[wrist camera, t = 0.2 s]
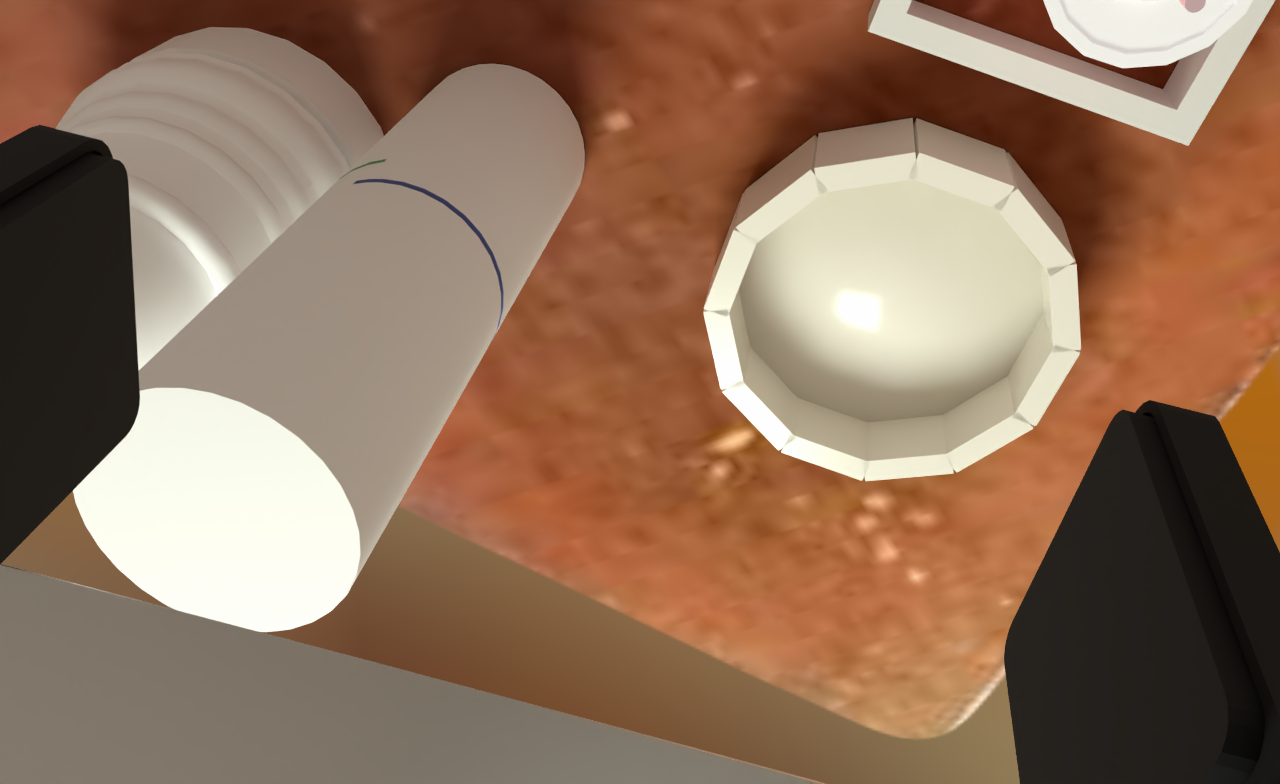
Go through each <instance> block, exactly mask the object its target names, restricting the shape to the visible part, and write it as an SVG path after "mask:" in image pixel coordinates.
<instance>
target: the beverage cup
mask: <svg viewBox="0 0 1280 784" xmlns="http://www.w3.org/2000/svg"><path fill="white" fill-rule="evenodd" d="M1043 1H1044V4H1045V6H1046V9H1047V11H1048V14H1049V16H1050V19H1051V21H1052V24H1053V26H1054V29H1055V30H1057V31H1058V32H1059V33H1060V34H1061V35H1062V36H1063V37H1064V38H1065V39H1066V40H1067V41H1068V42H1069V43H1071V44H1072V45H1073V46H1074V47H1075V48H1076V49H1077V50H1078V51H1079V52H1080V53H1081V54H1082V55H1083V56H1086V57H1089V58H1093V59H1096V60H1099V61H1102V62H1105V63H1108V64H1111V65H1114V66H1117V67H1120V68H1134V67H1148V66H1162V65H1168V64H1170V63H1173V62H1175V61H1177V60H1179V59H1182V58H1184V57H1186V56H1188V55H1191V54H1193V53H1195V52H1198V51H1200V50H1202V49H1204V48H1207V47H1209V46H1210V45H1211V44H1213V43H1214V42H1215V41H1216V40H1217V39H1218V38H1219V37H1220V36H1221V35H1223V34H1224V33H1225V32H1226V31H1227V30H1228V29H1229V28H1230V27H1231V26H1232V25H1234V24H1235V23H1236V22H1237V21H1238V20H1239V19H1240V18H1241V17H1242V16H1244V15H1245V14H1246V12H1247V10H1248V8H1249V7H1250V5H1251V3H1252V1H1253V0H1043Z"/></svg>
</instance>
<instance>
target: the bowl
mask: <svg viewBox="0 0 1280 784" xmlns="http://www.w3.org/2000/svg"><path fill="white" fill-rule="evenodd" d="M703 313H704V318H705V322H706V326H707V331H708V335H709V340H710V344H711V349H712V353H713V357H714V362H715V366H716V371H717V375H718V380H719V384H720V388H721V389H723V391H722V392H723V393H724V395H725V396H726V397H727V398H728V399H729V400H730V401H731V402H732V403H733V404H734V405H735V406H736V407H737V408H738V409H739V410H740V411H741V412H742V413H743V414H744V415H745V416H746V417H747V418H748V419H749V421H750V422H751V423H752V424H753V425H754V426H755V427H756V428H757V429H758V430H759V431H760V432H761V433H762V434H763V435H764V436H765V437H766V438H767V439H768V440H769V441H770V442H771V443H772V444H773V446H774V447H775V448H776V449H777V450H778V451H779V450H780V449H782V450H781V453H784V454H787V455H790V456H793V457H796V458H799V459H801V460H804V461H807V462H810V463H813V464H816V465H818V466H821V467H824V468H827V469H830V470H833V471H836V472H838V473H841V474H844V475H847V476H850V477H853V478H855V479H858V480H861V481H862V480H863V478H864V476H865V481H873V480H885V479H896V478H908V477H919V476H931V475H942V474H954V473H953V469H954V470H955V471H956V472H959V471H960V470H962V469H964V468H966V467H967V466H969V465H971V464H973V463H974V462H976V461H978V460H980V459H981V458H983V457H985V456H986V455H988V454H990V453H992V452H993V451H995V450H997V449H999V448H1000V447H1002V446H1004V445H1006V444H1007V443H1009V442H1011V441H1013V440H1014V439H1016V438H1018V437H1020V436H1021V435H1023V434H1025V433H1026V432H1028V431H1030V430H1032V429H1033V425H1034V426H1036V425H1037V423H1038V422H1039V420H1040V419H1041V417H1042V415H1043V414H1044V412H1045V410H1046V409H1047V407H1048V405H1049V404H1050V402H1051V400H1052V399H1053V397H1054V395H1055V394H1056V392H1057V390H1058V389H1059V387H1060V386H1061V384H1062V382H1063V381H1064V379H1065V377H1066V376H1067V374H1068V372H1069V371H1070V369H1071V367H1072V366H1073V364H1074V362H1075V361H1076V359H1077V358H1078V356H1079V354H1080V350H1081V338H1080V318H1079V299H1078V280H1077V264H1076V261H1075V258H1074V255H1073V252H1072V249H1071V246H1070V243H1069V240H1068V237H1067V234H1066V230H1065V227H1064V224H1063V222H1062V219H1061V218H1060V217H1059V216H1058V214H1057V213H1056V212H1055V211H1054V209H1053V208H1052V207H1051V205H1050V204H1049V203H1048V202H1047V200H1046V199H1045V198H1044V197H1043V195H1042V194H1041V193H1040V192H1039V190H1038V189H1037V188H1036V186H1035V185H1034V184H1033V183H1032V181H1031V180H1030V179H1029V178H1028V176H1027V175H1026V174H1025V173H1024V171H1023V170H1022V169H1021V168H1020V166H1019V165H1018V164H1017V162H1016V161H1015V160H1014V159H1013V157H1012V156H1011V155H1010V154H1009V152H1007V153H1006V152H1005V149H1002V148H999V147H996V146H994V145H991V144H988V143H985V142H982V141H979V140H977V139H974V138H971V137H968V136H965V135H963V134H960V133H957V132H954V131H951V130H949V129H946V128H943V127H940V126H937V125H935V124H932V123H929V122H926V121H923V120H921V119H918V118H916V120H915V123H914V124H913V118H908V119H902V120H896V121H890V122H884V123H878V124H871V125H865V126H859V127H853V128H847V129H841V130H835V131H829V132H823V133H819V134H818V137H817V136H816V135H814V136H813V137H812V138H810V139H809V140H808V141H806V142H805V143H804V144H803V145H801V146H800V147H799V148H798V149H796V150H795V151H794V152H792V153H791V154H790V155H789V156H787V157H786V158H785V159H784V160H782V161H781V162H780V163H778V164H777V165H776V166H775V167H773V168H772V169H771V170H770V171H768V172H767V173H766V174H764V175H763V176H762V177H761V178H759V179H758V180H757V181H756V182H754V183H753V184H752V185H750V186H749V187H748V188H747V189H745V192H744V193H743V194H742V197H741V199H740V202H739V204H738V207H737V210H736V212H735V215H734V218H733V220H732V223H731V226H730V228H729V231H728V234H727V236H726V239H725V242H724V244H723V247H722V249H721V252H720V255H719V257H718V260H717V263H716V265H715V268H714V272H713V276H712V279H711V283H710V287H709V290H708V294H707V298H706V301H705V305H704V311H703Z"/></svg>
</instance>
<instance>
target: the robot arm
mask: <svg viewBox="0 0 1280 784" xmlns="http://www.w3.org/2000/svg"><path fill="white" fill-rule="evenodd" d="M139 405H140V389H139V371H138V352H137V334H136V315H135V297H134V278H133V259H132V241H131V222H130V204H129V185H128V176H127V171H126V169H125V166H124V164H123V163H122V162H120V161H119V160H116V159H113V156H112V154H111V151H110V149H109V147H108V146H107V145H106V144H105V143H104V142H103V141H102V140H98V139H94V138H90V137H86V136H82V135H78V134H74V133H70V132H66V131H62V130H58V129H54V128H50V127H46V126H42V125H38V126H35V127H31V128H29V129H27V130H26V131H24V132H22V133H20V134H18V135H16V136H14V137H13V138H11V139H9V140H7V141H5V142H3V143H1V144H0V784H825V783H822V782H818V781H814V780H811V779H807V778H803V777H799V776H796V775H792V774H789V773H785V772H781V771H778V770H773V769H769V768H766V767H763V766H759V765H755V764H752V763H748V762H744V761H741V760H737V759H733V758H730V757H726V756H722V755H719V754H715V753H711V752H708V751H704V750H700V749H697V748H693V747H689V746H685V745H681V744H678V743H674V742H670V741H667V740H663V739H659V738H656V737H652V736H648V735H644V734H641V733H637V732H633V731H629V730H625V729H622V728H618V727H615V726H610V725H607V724H603V723H599V722H595V721H592V720H588V719H584V718H581V717H577V716H574V715H570V714H566V713H562V712H558V711H555V710H551V709H547V708H544V707H540V706H536V705H532V704H529V703H525V702H521V701H518V700H514V699H510V698H506V697H502V696H499V695H495V694H491V693H488V692H484V691H480V690H476V689H472V688H469V687H465V686H461V685H457V684H454V683H450V682H446V681H443V680H439V679H435V678H431V677H428V676H424V675H420V674H417V673H412V672H409V671H405V670H401V669H398V668H394V667H390V666H386V665H383V664H379V663H375V662H372V661H368V660H364V659H360V658H356V657H353V656H349V655H345V654H341V653H337V652H333V651H329V650H326V649H322V648H318V647H314V646H311V645H307V644H303V643H299V642H296V641H292V640H288V639H284V638H280V637H277V636H273V635H269V634H265V633H261V632H258V631H254V630H250V629H246V628H242V627H239V626H235V625H231V624H227V623H223V622H220V621H216V620H212V619H208V618H204V617H201V616H197V615H193V614H189V613H185V612H182V611H178V610H174V609H170V608H166V607H163V606H159V605H155V604H151V603H147V602H144V601H140V600H136V599H132V598H129V597H125V596H121V595H117V594H113V593H109V592H106V591H102V590H98V589H94V588H91V587H87V586H83V585H79V584H75V583H72V582H68V581H64V580H60V579H56V578H52V577H48V576H45V575H41V574H37V573H33V572H29V571H25V570H21V569H18V568H14V567H10V566H5V565H2V564H1V563H2V562H3V561H4V560H5V559H6V558H7V557H8V556H9V555H10V554H11V553H12V552H13V551H14V550H15V549H16V548H17V547H18V546H19V545H20V544H21V543H22V542H23V541H24V539H26V537H28V536H29V535H30V533H31V532H32V531H33V530H34V529H35V528H36V527H37V526H38V525H39V524H40V523H41V522H42V521H43V520H44V519H45V518H46V517H47V516H48V515H49V514H50V513H51V512H52V511H53V510H54V509H55V508H56V507H57V506H58V505H59V504H60V503H61V502H62V501H63V500H64V499H65V498H66V497H67V496H68V495H69V494H70V493H71V492H72V491H73V490H74V489H75V488H76V487H77V486H78V485H79V484H80V483H81V482H82V481H83V480H84V479H85V478H86V477H87V476H88V475H89V473H90V472H91V471H92V470H93V469H94V468H95V467H96V466H97V465H98V464H99V463H100V462H101V461H102V460H103V459H104V458H105V457H106V456H107V455H108V454H109V453H110V452H111V451H112V450H113V449H114V448H115V447H116V446H117V445H118V444H119V443H120V442H121V441H122V440H123V439H124V438H125V437H126V436H127V434H128V433H129V432H130V430H131V428H132V427H133V425H134V423H135V420H136V417H137V414H138V410H139ZM1004 663H1005V672H1006V679H1007V687H1008V695H1009V702H1010V710H1011V717H1012V724H1013V732H1014V740H1015V747H1016V755H1017V763H1018V770H1019V778H1020V784H1280V552H1279V550H1278V548H1277V546H1276V544H1275V542H1274V540H1273V537H1272V535H1271V533H1270V531H1269V529H1268V526H1267V524H1266V522H1265V520H1264V518H1263V516H1262V513H1261V511H1260V509H1259V507H1258V505H1257V503H1256V500H1255V498H1254V496H1253V494H1252V492H1251V490H1250V487H1249V485H1248V483H1247V481H1246V479H1245V477H1244V474H1243V472H1242V470H1241V468H1240V466H1239V464H1238V461H1237V459H1236V457H1235V455H1234V453H1233V451H1232V448H1231V446H1230V444H1229V442H1228V440H1227V438H1226V435H1225V433H1224V431H1223V429H1222V427H1221V425H1220V422H1219V421H1218V420H1217V419H1216V417H1215V416H1211V415H1207V414H1203V413H1199V412H1195V411H1191V410H1187V409H1183V408H1179V407H1175V406H1171V405H1167V404H1163V403H1159V402H1155V401H1151V400H1149V401H1147V402H1145V403H1143V404H1142V405H1141V406H1140V407H1139V409H1138V410H1137V411H1136V413H1134V412H1130V411H1126V410H1122V411H1120V412H1118V413H1117V414H1116V415H1115V416H1114V418H1113V419H1112V421H1111V423H1110V424H1109V426H1108V428H1107V430H1106V432H1105V434H1104V436H1103V439H1102V441H1101V443H1100V445H1099V447H1098V449H1097V451H1096V453H1095V455H1094V457H1093V459H1092V461H1091V463H1090V465H1089V467H1088V469H1087V471H1086V473H1085V475H1084V477H1083V479H1082V481H1081V483H1080V485H1079V487H1078V489H1077V491H1076V493H1075V495H1074V498H1073V500H1072V502H1071V504H1070V506H1069V508H1068V510H1067V512H1066V514H1065V516H1064V518H1063V520H1062V522H1061V524H1060V526H1059V528H1058V530H1057V532H1056V534H1055V536H1054V538H1053V540H1052V542H1051V544H1050V546H1049V548H1048V550H1047V552H1046V554H1045V557H1044V559H1043V561H1042V563H1041V565H1040V567H1039V569H1038V571H1037V573H1036V575H1035V577H1034V579H1033V581H1032V583H1031V585H1030V587H1029V589H1028V591H1027V593H1026V595H1025V597H1024V599H1023V601H1022V603H1021V605H1020V607H1019V609H1018V611H1017V613H1016V615H1015V618H1014V620H1013V622H1012V624H1011V627H1010V629H1009V632H1008V636H1007V640H1006V645H1005V654H1004Z"/></svg>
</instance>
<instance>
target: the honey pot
mask: <svg viewBox="0 0 1280 784" xmlns="http://www.w3.org/2000/svg"><path fill="white" fill-rule="evenodd" d="M56 129H58V130H62V131H66V132H70V133H74V134H78V135H82V136H86V137H90V138H94V139H98V140H102V141H103V142H104V143H105V144H106V145H107V146H108V147H109V149H110V151H111V154H112V156H113V159H116V160H119V161H120V162H122V163H123V164H124V166H125V169H126V171H127V176H128V185H129V204H130V222H131V241H132V259H133V278H134V297H135V315H136V334H137V352H138V371H139V370H140V369H141V368H142V367H143V366H144V365H145V364H146V363H147V362H148V361H149V360H150V359H151V358H153V357H154V356H155V355H156V354H157V353H158V352H159V351H160V350H161V349H162V348H163V347H164V346H165V345H166V344H167V343H168V342H169V341H170V340H171V339H172V338H173V337H174V336H176V335H177V334H178V333H179V332H180V331H181V330H182V329H183V328H184V327H185V326H186V325H187V324H188V323H189V322H190V321H191V320H192V319H193V318H194V317H195V316H196V315H197V314H199V313H200V312H201V311H202V310H203V309H204V308H205V307H206V306H207V305H208V304H209V303H210V302H211V301H212V300H213V299H214V298H215V297H216V296H217V295H218V294H219V293H220V292H222V291H223V290H224V289H225V288H226V287H227V286H228V285H229V284H230V283H231V282H232V281H233V280H234V279H235V278H236V277H237V276H238V275H239V274H240V273H241V272H242V271H243V270H245V269H246V268H247V267H248V266H249V265H250V264H251V263H252V262H253V261H254V260H255V259H256V258H257V257H258V256H259V255H260V254H261V253H262V252H263V251H264V250H265V249H266V248H268V247H269V246H270V245H271V244H272V243H273V242H274V241H275V240H276V239H277V238H278V237H279V236H280V235H281V234H282V233H283V232H284V231H285V230H286V229H287V228H288V227H289V226H291V225H292V224H293V223H294V222H295V221H296V220H297V219H298V218H299V217H300V216H301V215H302V214H303V213H304V212H305V211H306V210H307V209H308V208H309V207H310V206H311V205H313V204H314V203H315V202H316V201H317V200H318V199H319V198H320V197H321V196H322V195H323V194H324V193H325V192H326V191H327V190H328V189H329V188H330V187H331V186H332V185H333V184H334V183H335V182H336V181H338V180H339V179H340V178H341V177H342V176H343V175H344V174H345V173H346V172H347V171H348V170H349V169H350V168H351V167H352V166H353V165H354V164H355V163H356V162H357V161H358V160H359V159H361V158H362V157H363V156H364V155H365V154H366V153H367V152H368V151H369V150H370V149H371V148H372V147H373V146H374V145H375V144H376V143H377V142H378V141H379V140H380V139H381V138H383V137H384V134H383V132H382V129H381V127H380V125H379V124H378V122H377V121H376V120H375V118H374V117H373V115H372V114H371V112H370V111H369V109H368V108H367V106H366V105H365V103H364V102H363V101H362V99H361V98H360V96H359V95H358V93H357V92H356V91H355V90H354V89H353V88H352V87H351V86H350V85H349V84H348V83H347V82H346V81H344V80H343V79H342V78H341V77H340V76H339V75H338V74H337V73H336V72H335V71H334V70H333V69H332V68H331V67H330V66H328V65H327V64H326V63H325V62H324V61H322V60H320V59H319V58H317V57H315V56H314V55H312V54H310V53H309V52H307V51H305V50H304V49H302V48H300V47H298V46H297V45H295V44H293V43H292V42H290V41H288V40H285V39H282V38H279V37H276V36H272V35H269V34H266V33H263V32H259V31H256V30H253V29H249V28H227V27H208V28H204V29H201V30H197V31H194V32H190V33H186V34H183V35H179V36H175V37H174V38H172V39H170V40H168V41H166V42H164V43H162V44H160V45H159V46H157V47H155V48H153V49H151V50H149V51H147V52H145V53H143V54H142V55H140V56H138V57H136V58H134V59H133V60H131V61H130V62H127V63H125V64H123V65H122V66H121V67H119V68H118V69H115V70H112V71H110V72H109V73H107V74H106V75H104V76H103V77H102V78H100V79H99V80H97V81H96V82H94V83H93V84H92V85H90V86H89V87H87V88H86V89H84V90H83V91H82V92H81V93H80V94H79V95H78V96H77V98H76V99H75V100H74V102H73V103H72V105H71V106H70V108H69V109H68V110H67V112H66V113H65V115H64V116H63V118H62V119H61V121H60V122H59V124H58V125H57V126H56Z"/></svg>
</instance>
